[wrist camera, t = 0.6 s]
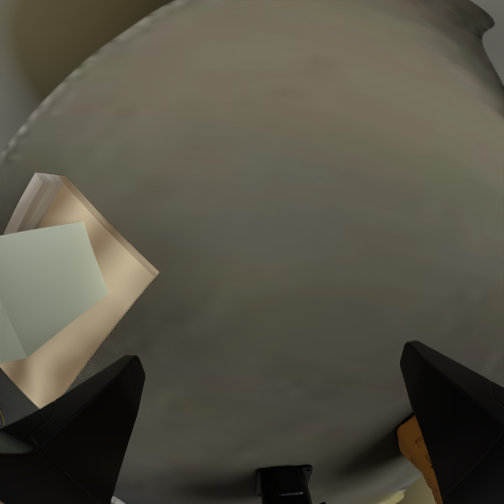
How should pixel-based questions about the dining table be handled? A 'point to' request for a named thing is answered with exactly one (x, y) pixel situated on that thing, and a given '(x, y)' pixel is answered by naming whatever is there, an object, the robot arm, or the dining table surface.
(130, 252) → the shelf
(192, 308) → the dining table surface
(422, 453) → the coffee package
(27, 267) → the carton
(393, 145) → the dining table surface
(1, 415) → the apothecary jar
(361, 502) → the dining table surface
